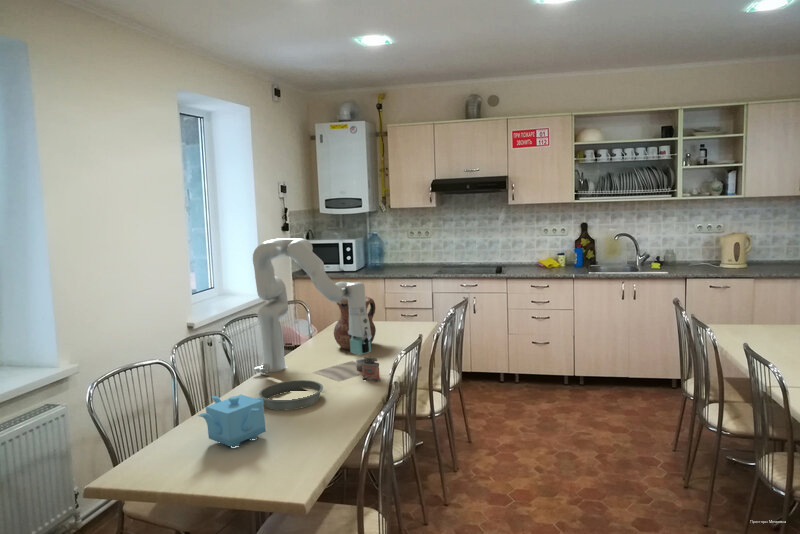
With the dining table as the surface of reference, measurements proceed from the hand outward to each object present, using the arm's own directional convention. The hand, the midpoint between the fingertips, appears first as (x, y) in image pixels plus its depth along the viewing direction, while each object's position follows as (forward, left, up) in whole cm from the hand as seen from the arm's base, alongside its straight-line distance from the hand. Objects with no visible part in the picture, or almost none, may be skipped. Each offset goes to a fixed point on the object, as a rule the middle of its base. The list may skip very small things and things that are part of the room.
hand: (360, 350), depth 267 cm
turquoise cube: (0, 0, -1) cm, 1 cm away
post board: (-5, +5, -10) cm, 12 cm away
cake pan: (-39, -6, -11) cm, 41 cm away
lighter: (-4, -11, -10) cm, 16 cm away
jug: (+26, +38, -10) cm, 47 cm away
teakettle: (-73, -26, -10) cm, 78 cm away
